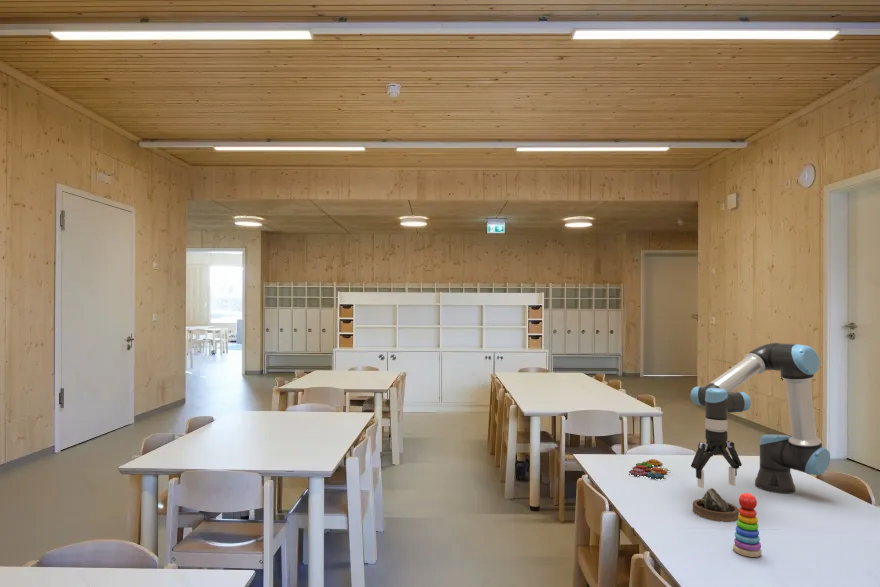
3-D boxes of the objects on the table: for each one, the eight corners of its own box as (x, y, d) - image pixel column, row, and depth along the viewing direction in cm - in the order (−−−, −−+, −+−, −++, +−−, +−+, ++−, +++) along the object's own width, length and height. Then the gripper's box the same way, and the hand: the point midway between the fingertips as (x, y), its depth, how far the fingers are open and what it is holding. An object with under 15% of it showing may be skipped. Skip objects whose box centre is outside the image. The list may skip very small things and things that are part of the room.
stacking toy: (727, 547, 181) (728, 489, 181) (751, 547, 182) (751, 489, 182) (742, 558, 173) (743, 497, 174) (767, 558, 174) (767, 497, 174)
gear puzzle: (640, 461, 285) (640, 453, 286) (674, 467, 277) (674, 458, 277) (627, 476, 259) (627, 467, 259) (664, 482, 250) (664, 473, 251)
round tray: (718, 505, 220) (718, 498, 220) (748, 520, 205) (748, 512, 205) (684, 507, 217) (684, 500, 217) (711, 522, 202) (711, 514, 202)
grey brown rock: (737, 516, 205) (723, 491, 206) (713, 526, 206) (699, 501, 207) (727, 505, 215) (714, 481, 216) (704, 514, 217) (692, 491, 218)
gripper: (737, 426, 218) (737, 480, 218) (680, 428, 213) (681, 484, 213) (752, 430, 211) (752, 487, 211) (693, 433, 206) (694, 491, 205)
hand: (716, 486), depth 212 cm, fingers open, 13 cm apart
